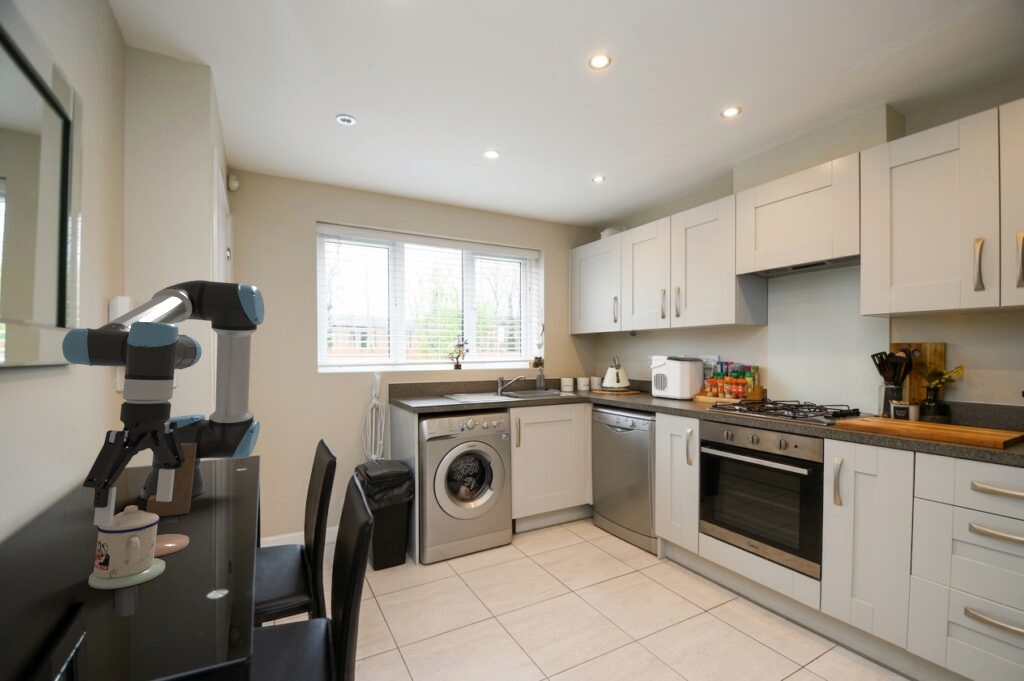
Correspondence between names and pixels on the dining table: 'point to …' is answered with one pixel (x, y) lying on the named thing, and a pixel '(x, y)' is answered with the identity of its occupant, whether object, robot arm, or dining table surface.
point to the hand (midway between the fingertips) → (135, 512)
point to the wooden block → (178, 487)
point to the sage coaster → (128, 577)
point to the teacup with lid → (126, 544)
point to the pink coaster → (170, 544)
